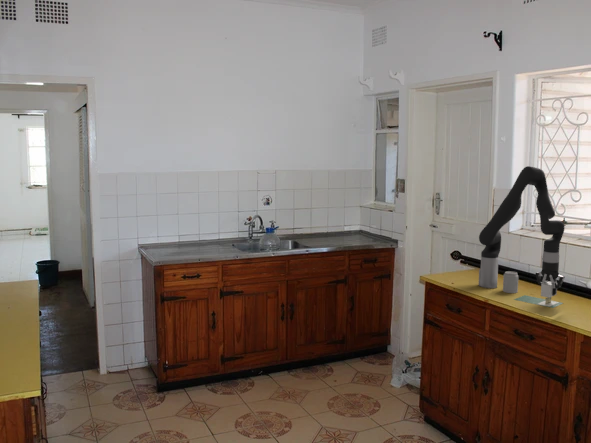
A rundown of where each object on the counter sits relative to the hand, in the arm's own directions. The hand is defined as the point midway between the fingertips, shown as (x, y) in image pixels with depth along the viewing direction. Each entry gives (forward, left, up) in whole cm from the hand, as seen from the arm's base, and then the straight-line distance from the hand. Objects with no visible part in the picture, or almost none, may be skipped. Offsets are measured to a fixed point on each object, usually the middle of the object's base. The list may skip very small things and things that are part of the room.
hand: (548, 294), depth 276 cm
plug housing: (0, 0, -1) cm, 1 cm away
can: (-24, +8, -6) cm, 26 cm away
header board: (-5, 0, -6) cm, 8 cm away
